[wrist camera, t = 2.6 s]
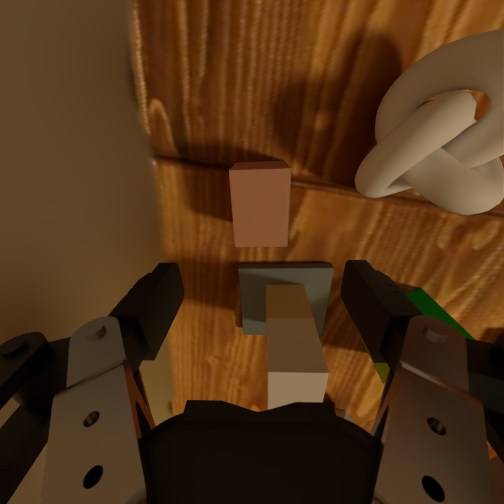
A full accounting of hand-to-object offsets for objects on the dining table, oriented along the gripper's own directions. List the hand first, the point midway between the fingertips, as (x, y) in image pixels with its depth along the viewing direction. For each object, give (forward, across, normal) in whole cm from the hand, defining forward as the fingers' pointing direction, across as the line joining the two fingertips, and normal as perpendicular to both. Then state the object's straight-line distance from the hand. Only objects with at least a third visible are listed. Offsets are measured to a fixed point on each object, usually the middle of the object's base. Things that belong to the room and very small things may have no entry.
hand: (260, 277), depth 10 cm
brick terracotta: (+16, 0, 0) cm, 16 cm away
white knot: (+16, -15, -5) cm, 22 cm away
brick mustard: (+15, -3, +15) cm, 21 cm away
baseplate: (+16, -3, +15) cm, 22 cm away
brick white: (+9, -3, +15) cm, 17 cm away
